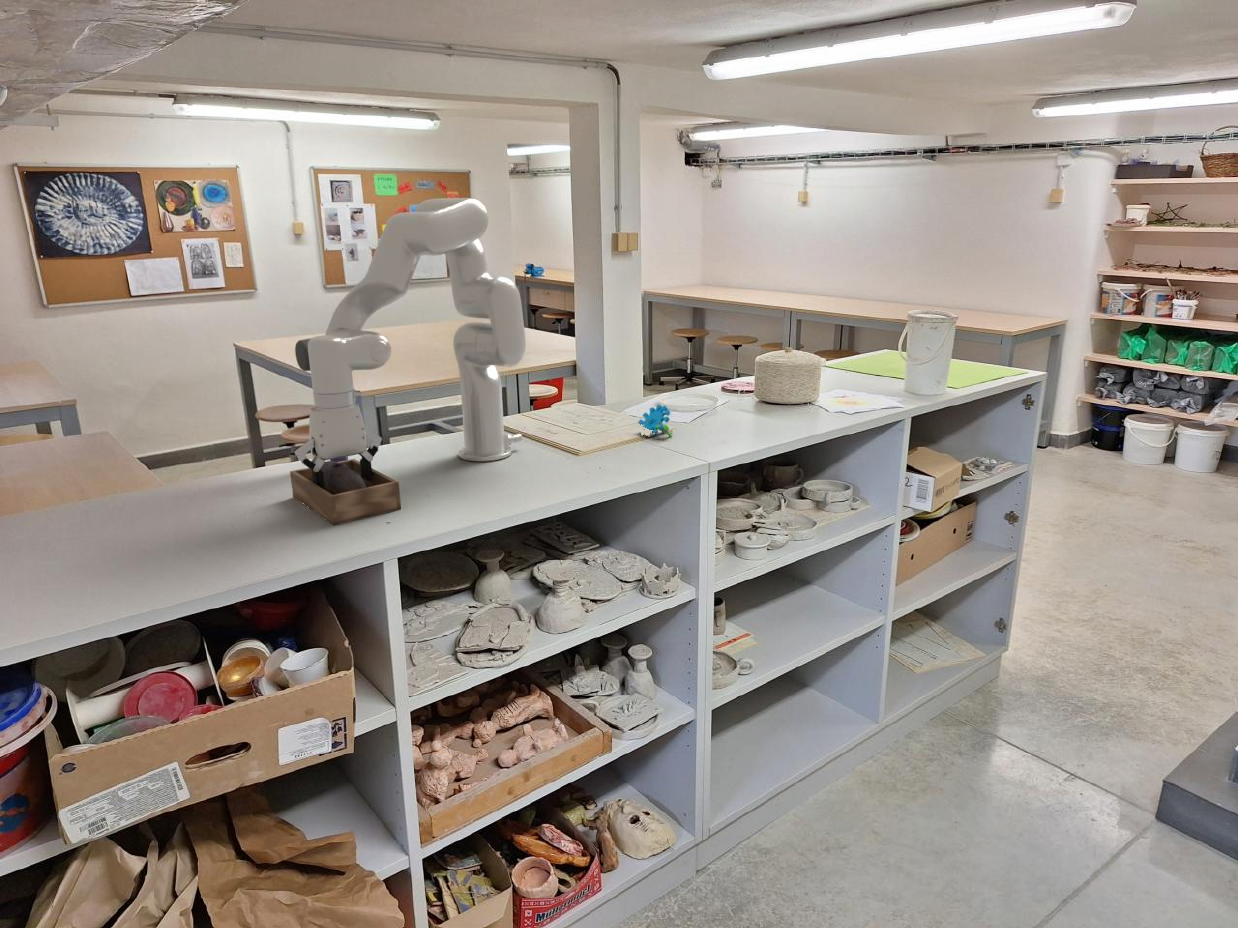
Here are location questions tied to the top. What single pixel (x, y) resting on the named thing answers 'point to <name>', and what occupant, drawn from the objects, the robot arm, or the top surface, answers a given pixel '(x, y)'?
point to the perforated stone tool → (340, 478)
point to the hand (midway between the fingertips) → (343, 484)
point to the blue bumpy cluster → (656, 420)
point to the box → (347, 496)
